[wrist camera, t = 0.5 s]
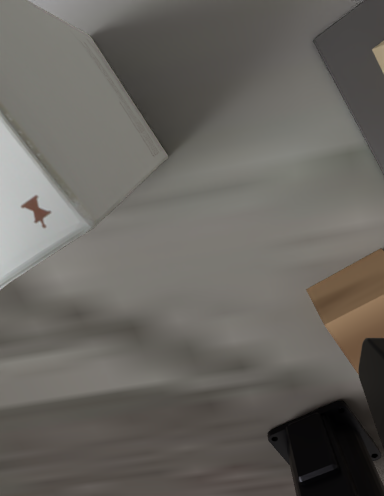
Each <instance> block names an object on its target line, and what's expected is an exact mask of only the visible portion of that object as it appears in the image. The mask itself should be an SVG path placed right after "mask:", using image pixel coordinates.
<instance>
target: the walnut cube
mask: <svg viewBox="0 0 384 496" xmlns="http://www.w3.org/2000/svg"><path fill="white" fill-rule="evenodd" d="M306 290H307V292H308V294H309V296H310V298H311V300H312V302H313V304H314V306H315V308H316V310H317V312H318V314H319V315H320V317H321V319H322V321H323V323H324V325H325V327H326V328H327V329H328V331H329V332H330V334H331V335H332V337H333V338H334V340H335V341H336V343H337V344H338V345H339V347H340V348H341V350H342V351H343V353H344V354H345V356H346V357H347V358H348V360H349V361H350V363H351V364H352V366H353V367H354V369H355V370H356V372H357V373H358V374H359V372H358V368H359V362H360V355H361V349H362V343H363V341H364V340H365V339H366V338H384V251H383V250H382V249H379V250H377V251H375V252H373V253H372V254H370V255H368V256H366V257H364V258H362V259H361V260H359V261H357V262H355V263H353V264H352V265H350V266H348V267H346V268H344V269H342V270H341V271H339V272H337V273H335V274H333V275H332V276H330V277H328V278H326V279H324V280H323V281H321V282H319V283H317V284H315V285H313V286H312V287H310V288H308V289H306Z"/></svg>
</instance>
